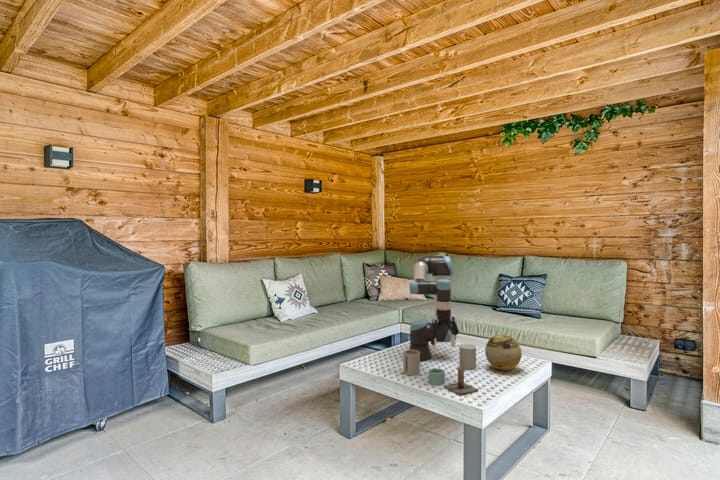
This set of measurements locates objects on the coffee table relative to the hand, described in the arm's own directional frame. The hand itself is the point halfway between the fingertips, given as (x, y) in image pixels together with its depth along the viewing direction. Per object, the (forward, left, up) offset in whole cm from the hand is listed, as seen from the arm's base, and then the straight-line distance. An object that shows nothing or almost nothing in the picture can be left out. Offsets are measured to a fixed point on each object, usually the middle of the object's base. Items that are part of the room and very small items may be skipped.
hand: (443, 348), depth 221 cm
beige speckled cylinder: (-10, +27, -18) cm, 34 cm away
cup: (-19, -7, -18) cm, 27 cm away
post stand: (+13, 0, -18) cm, 22 cm away
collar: (-1, -4, -18) cm, 18 cm away
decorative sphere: (+3, +42, -18) cm, 46 cm away
